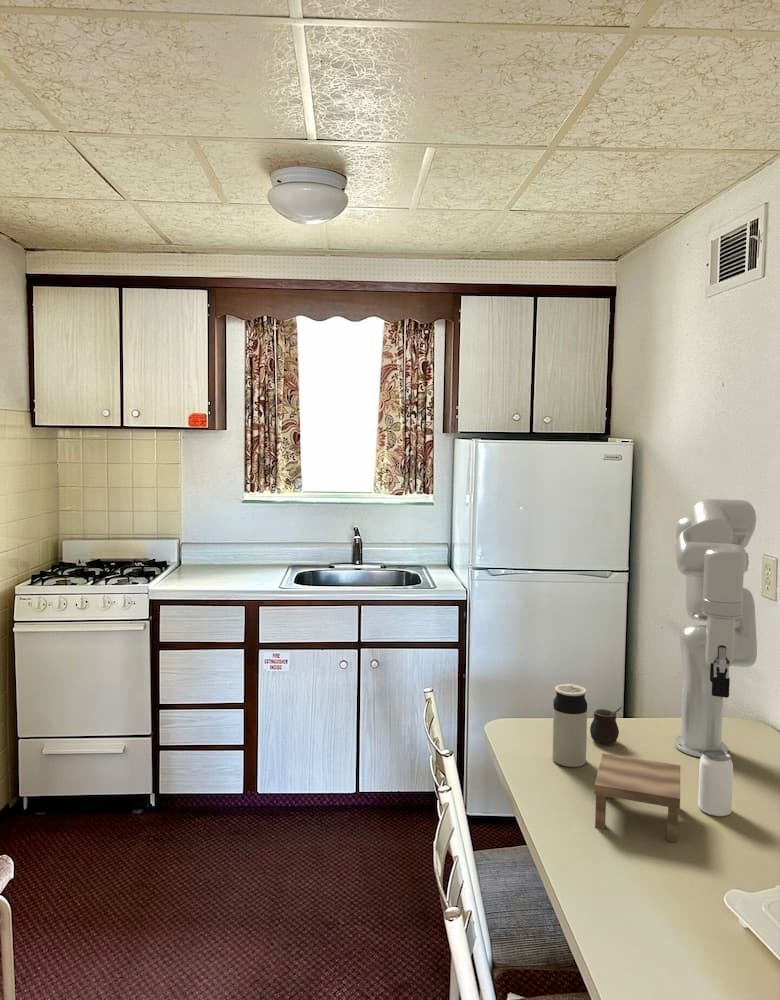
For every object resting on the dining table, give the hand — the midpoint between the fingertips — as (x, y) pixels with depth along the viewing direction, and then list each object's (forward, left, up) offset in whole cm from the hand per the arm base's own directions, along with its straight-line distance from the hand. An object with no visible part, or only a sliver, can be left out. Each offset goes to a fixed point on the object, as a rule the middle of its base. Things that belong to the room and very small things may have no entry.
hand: (719, 689), depth 154 cm
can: (0, 0, -26) cm, 26 cm away
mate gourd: (-28, -25, -26) cm, 46 cm away
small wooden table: (+9, -15, -26) cm, 31 cm away
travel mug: (-13, -32, -26) cm, 43 cm away
